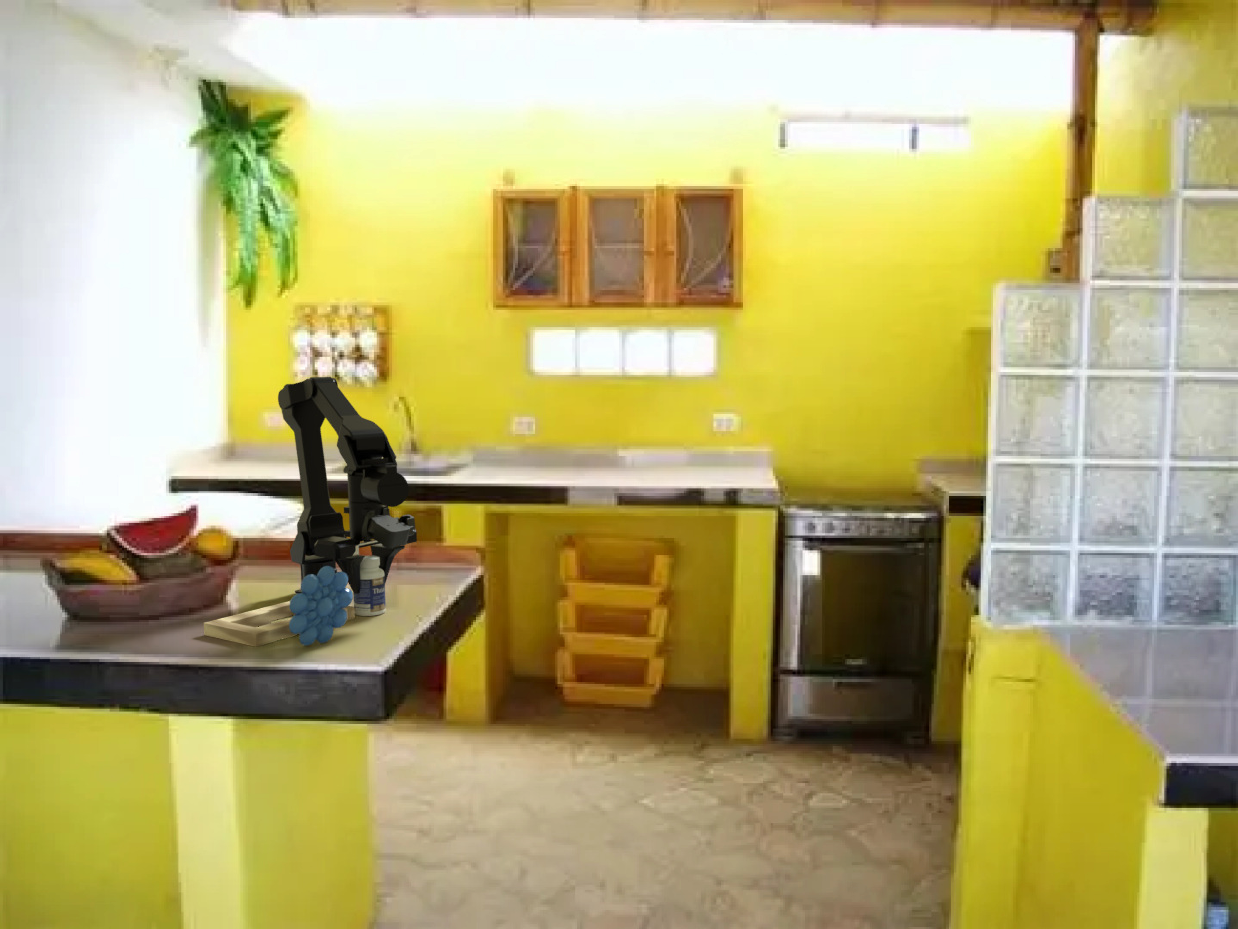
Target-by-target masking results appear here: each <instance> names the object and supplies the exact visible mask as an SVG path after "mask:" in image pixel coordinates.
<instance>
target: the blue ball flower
mask: <svg viewBox="0 0 1238 929" xmlns="http://www.w3.org/2000/svg"><path fill="white" fill-rule="evenodd" d="M300 582H301V581H300ZM347 585H349V583H348V576H347V574H346V573H345V572H342V570H341V571H337V573H335V571H334V569H333V568H332V567H330V566H324V567H323V568H321V569H320V570H319V572H318V574H317V576H316V575H314V574H311V575H307V576H306V577H304V579H303V580H302V582H301V583H300V589H301V591H302V593H298V594H297V593H295V594H294V595H293V596H292V598H291V599H290V600H289V601H290V610H291V612H292V613H294V614H296V615H293V616H291V617H290V618H291V620H290V622H289V629H290V631H291V633H293V634H299V633H300V634H299V638H298V640H299V642H300V644H301V645H303V646H306V647H307V646H311V645H312V644H313V643H315V642H317V643H320V644H323V643H328V642H329V641H330V640H331V639H332V637H333V635H334V629H338V628H339V629H340V628H342V627H343V626H344V625H345V624H346V622H347V621H348V620H347V612H346V610H345V609H343V608H345V607H347V606H351V603H352V602H353V600H354V596H353V591H352V589H351V588H348V587H347ZM346 620H347V621H346Z"/></svg>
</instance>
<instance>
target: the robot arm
mask: <svg viewBox="0 0 1238 929" xmlns="http://www.w3.org/2000/svg"><path fill="white" fill-rule="evenodd" d="M277 402H278V406H279V408H280V409H281V414H282V418H283V420H284V421H285V423H286V424H287V425H288V427H289V428H290V429H291V430H292V431H293V435H294V442H295V449H296V456H297V465H298V472H299V479H300V487H301V496H302V501H303V502H302V504H303V510H302V512H301V514H300V517H299V519H298V521H297V524H296V527H297V528H296V531H297V534H296V535H295V538H294V540H293V542H292V544H291V546H290V547H291V548H290V550H289V554H290V558H291V562H293V563H296V564H299V565H300V582H302V580H303V579H304V577H306V576H307V575H311V574H314V575H316V576H317V574H318V572H319V570H320V569H321V568H323V567H324V566H330V567H332V568H333V569H334V571H335V573H337V572H338V569H337V566H338V568H339V569H340V570H341V571H342V572H345V573H346V574H347V576H348V585H349V587H350V590H351V591H352V593H353V592H354V593H355V594H359V593H360V563H361V562H362V560H363V558H364V557H365V556H366V555H362V554H360V549H362V548H366V547H370V551H371V556H379V557H380V565H379V568H381V569H382V570H383V571H384V574H385V584H386V583H387V581H388V580H387V579H388V575H389V573H390V570H391V567H392V563H393V561H394V559H395V557H396V556H397V554H398V553H399V552H401V551H402V550H404V549H405V548H406V545H408V544H413V543H417V542H418V538H417V534H418V533H417V530H416V520H415V517H414V516H413V515H411V514H403V515H401V516H400V517H398V516H397V517H392V516H391V514H390V508H389V507H391V508H395V507H399V506H400V505H402V504H403V503H404V502H405V501H406V499H407V497H408V495H409V492H410V491H409V490H410V489H409V488H410V486H409V484H408V481H407V479H406V477H405V476H403V474H401V473H400V472H398V463H397V460H396V459H397V455H396V454H395V452H394V450H393V448H392V446H391V443H390V442H389V438H388V437H387V434H386V433H385V431H384V430H383V428H381V427H380V426H379V425H378V424H377V423H375V422H374V421H373V420H370V419H367V418H364V417H362V416H361V415H360V414H359V413H358V411H357V409H355V407H354V406H353V405H352V403H351V402H350V400H348V398H347V397H346V396H345V394H344V393H343V392H342V390H341V389H340V388H339V385H338V381H337V379H336V378H335V377H331V376H316V377H315V376H311V377H309V378H306V379H304V380H303V381H299V382H295V383H285V385H284V386H283V387H282V389H280V390H279V391H278V395H277ZM325 420H327V422H328V423H329V425H330V426H331V427H332V428H333V430H334V432H335V433H336V435H337V436H338V437H337V442H336V447H337V449H338V452H339V454H340V456H341V458H342V459H343V460H344V462H345V464H346V465H345V466H344V468H343V469H342V470H343V473H344V474H347V475H346V476H347V497H348V499H347V500H348V505H347V506H344V507H343V514H348V521H349V522H348V523H349V529H348V530H345V528H344V516H343V515H342V513H341V512H337V511H336V510H335V508H334V507H333V506H332V505H331V497H330V491H329V483H328V477H327V470H326V461H325V452H324V445H323V437H322V431H321V428H322V426H323V424H324V422H325ZM298 593H302V591H301V588H299V589H296V590H294V594H298Z"/></svg>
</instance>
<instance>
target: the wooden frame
mask: <svg viewBox="0 0 1238 929" xmlns="http://www.w3.org/2000/svg"><path fill="white" fill-rule="evenodd" d="M290 601H291V600H289V601H285V602H280V603H277V604H273V605H270V606H264V607H261V608H258V609H257V608H256V609H253V610H249V611H245V612H241V613H238V614H237V613H236V614H234V615H230V616H226V617H222V618H218V619H214V620H210V621H205V622H203V634H204V636H207V637H212V638H217V639H221V640H225V641H228V642H229V641H230V642H233V643H238V644H243V645H248V646H251V647H260V646H263V645H266V644H267V645H268V644H270V643H273V642H277V640H278V641H280V639H281V640H283V639H282V638H285V639H288V638H291V636H292V637H294V635H295V636H298V635H297V634H293V633H291V631H290V629H289V622H290V620H291V618H292V617H293V616H294V615H296V614H294V613H292V612H291V610H290ZM343 609H345V610H346V612H347V620H346V622H348V621H350V619H351V620H354V619H355V618H356V617H355V616H356V614H355V613H354V605H353V606H352V605H349V606H347V607H345V608H343ZM292 615H293V616H292ZM289 617H290V618H289ZM284 618H285V619H284ZM277 619H278V620H279V621H278V620H277ZM281 619H283V620H281ZM273 621H275V622H273ZM258 626H259V627H258ZM299 635H300V633H299Z"/></svg>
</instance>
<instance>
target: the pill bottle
mask: <svg viewBox="0 0 1238 929" xmlns="http://www.w3.org/2000/svg"><path fill="white" fill-rule="evenodd" d="M364 556H365V557H364V558H363V560H362V562H361V563H360V593H359V594H355V593H354V592H353V591H352V593H353V607H354V613H355V616H362V617H372V616H378V615H382V614H384V613H385V612H386V611H387V610H386V608H387V606H386V605H387V604H386V583H385V574H384V571H383V570H382V569H381V568H379V565H380V557H379V556H372V555H364Z"/></svg>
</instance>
